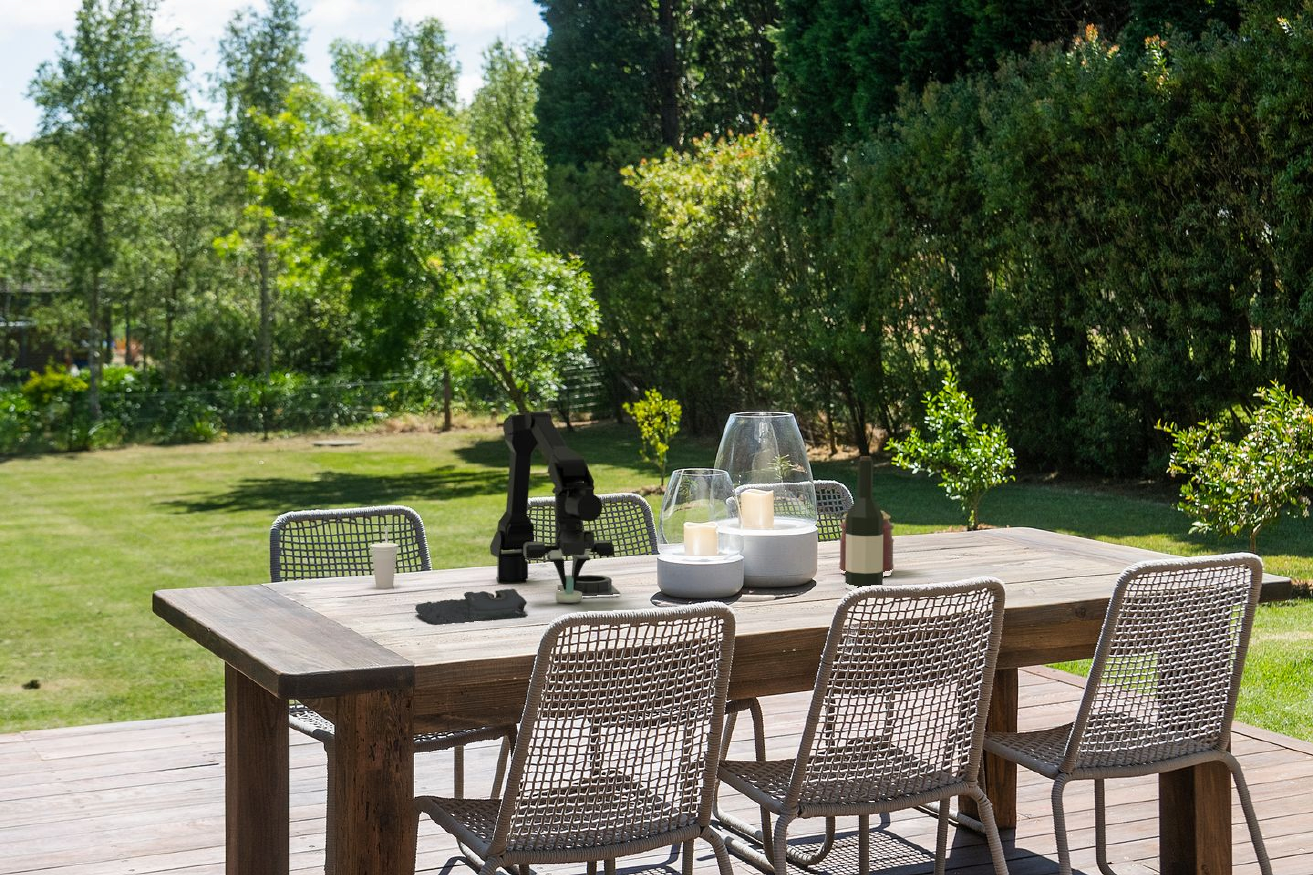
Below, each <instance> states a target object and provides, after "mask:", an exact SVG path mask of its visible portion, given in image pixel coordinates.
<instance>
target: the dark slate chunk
mask: <svg viewBox="0 0 1313 875" xmlns="http://www.w3.org/2000/svg"><path fill="white" fill-rule="evenodd" d="M463 597H465V598H460V599H453V598H451V599H444V600H440V601H438V600H437V601H433V602H432V601H427V602H423V603H417V604H416V605H415V607H414V608H415V609H414V610H415V611H416V613H417V614H418V615H419V616H421V619H422V620H423V621H425V622H426V623H427V624H429V625H433V626H442V625H443V624H445V625H452V623H455V624H464V623H465V622H469V623H475V622H474V621H482V622H489V621H491V622H492V620H493V621H500V620H501V621H502V620H514V619H516V620H517V619H526V618H527V617H528V615H529V614H527V613H525V607H526V605H527V604H528V603H527V600H526V598H524V597H523V596H522V595H520V594H519V593H518V591H517V590H516V589H515V588H511V589H510V588H508V589H507V588H506V589H498V590H495V592H494V593H491V592H487V591H484V590H481V591H477V592H474V591H466V592H465V593H464V594H463ZM523 611H524V612H523ZM465 624H466V623H465ZM443 626H444V625H443Z"/></svg>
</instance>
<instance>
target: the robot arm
mask: <svg viewBox="0 0 1313 875" xmlns="http://www.w3.org/2000/svg"><path fill="white" fill-rule="evenodd" d="M502 426H503V427H502V429H503V433H504V434H503V435H504V437H503V438H504V441H505V443H506V445H507V447H508V448H509V451H510V453H509V466H508V467H509V468H508V480H507V481H508V482H507V497H506V506H505V507H506V508H505V511H504V513H503V515H502V516H501V517H500V519H499V520H498V523H497V529H496V532H495V534H494V536H493V539H492V540H491V542H490V545H489V552H490V555H491V556H493V557H496V558H497V559H496V560H497V561H496V562H497V563H496V564H497V566H496V567H497V576H496V578H495V579H496V581H497V582H498V584H516V583H518V584H519V583H527V582H528V581H527V580H528V578H529V562H528V560H527V559H542V558H543V557H544V556H545V555H546V559H547V560H549V562H551V563H553V564H554V566H555V568H556V570H557V573H558V577H559V579H560V580H559V581H560V583H561V585H562V586H563V589H564V590H566V577H565V575H566V570H565V558H563V556H564V557H570V556H572V563H571V564H572V567H571V576H572V577H573V589H574V588H575V585H576V582H577V579H578V576H579V575H580V572H581V570H582V568H583V566H584V564H585V563H586V562H587V561H589V562H590V561H591V557H590V555H591V553H593V554H594V553H596V554H597V555H598V556H599V557H613V556H615V545H614V543H613V542H611V541H610V540H608V539H595V532H594V531H592V530H590V531H589V530H587V531H584V530H583V521H585V522H593V521H595V520H597V519H598V518H599V517H600V516H601V515H602V511H603V504H602V501H601V498H600V497H598V496H597V495H596V494H594V492H595V485H594V484H595V480H594V479H593V476H592V474H591V472H590V469H589V466H588V464H587V463H586V460H585V459H584V458H583V457H582V456H581V454H580V453H579V452H577V451H575V450H573V449H572V448H569V446H567V444H566V442H565V440H564V439H563V436H562V434H560V432H559V431H558V429H557V427H556V426H555V424H554V422H553V421H552V414H550V412H547V411H545V410H541V411H540V410H538V411H532V410H531V411H529V412H526V413H516V414H514V413H512V414H509V415H508V416H507V417H505V419H504V420H503V425H502ZM538 446H540V448H541V449H542V451H543V453H544V454H545V457H546V458H547V460H548V463H549V464H548V467H547V472H548V474H549V478H550V480H551V482H552V484H553V486H554V488H553V489H552V490H551V492H552V494H554V504H555V505H554V509H555V510H554V520H555V521H554V527H555V528H554V543H555V544H554V545H553V544H548V545H547V544H546V545H545V543H543V541H535V532H534V531H535V524H534V523H533V522H532V521H531V519H530V517H529V515H528V504H529V494H530V493H529V492H530V491H529V490H530V479H531V464H532V457H533V456H532V455H533V452H534V451H535V450H536V449H537V447H538Z"/></svg>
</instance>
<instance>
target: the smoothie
mask: <svg viewBox="0 0 1313 875" xmlns="http://www.w3.org/2000/svg"><path fill="white" fill-rule="evenodd" d="M388 532H389V531H388V525H385V526H384V539H385V540H384V542H380V543H378V542H377V543H372V544H370V545H369V550H370V551H371V558H372V565H373V573H374V574H373V575H374V579H375V587H376V589H380V590H383V589H384V590H385V589H386V590H387V589H392V588H394V581H395V570H396V562H397V555H398V554H397V553H398V550H399V544H398V543H393V542H389V540H388V537H389V536H388Z"/></svg>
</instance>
